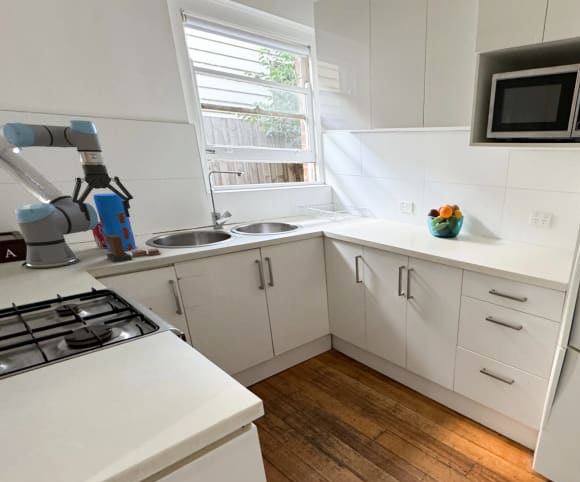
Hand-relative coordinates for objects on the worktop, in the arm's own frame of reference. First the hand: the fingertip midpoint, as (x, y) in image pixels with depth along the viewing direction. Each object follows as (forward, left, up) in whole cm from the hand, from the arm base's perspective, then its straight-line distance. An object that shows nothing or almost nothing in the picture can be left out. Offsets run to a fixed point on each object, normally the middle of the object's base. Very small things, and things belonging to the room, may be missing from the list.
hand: (108, 218), depth 158 cm
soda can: (+3, +29, -18) cm, 34 cm away
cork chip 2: (+13, -1, -17) cm, 22 cm away
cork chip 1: (+8, +1, -17) cm, 19 cm away
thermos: (+7, +20, -17) cm, 28 cm away
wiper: (0, 0, -17) cm, 17 cm away
